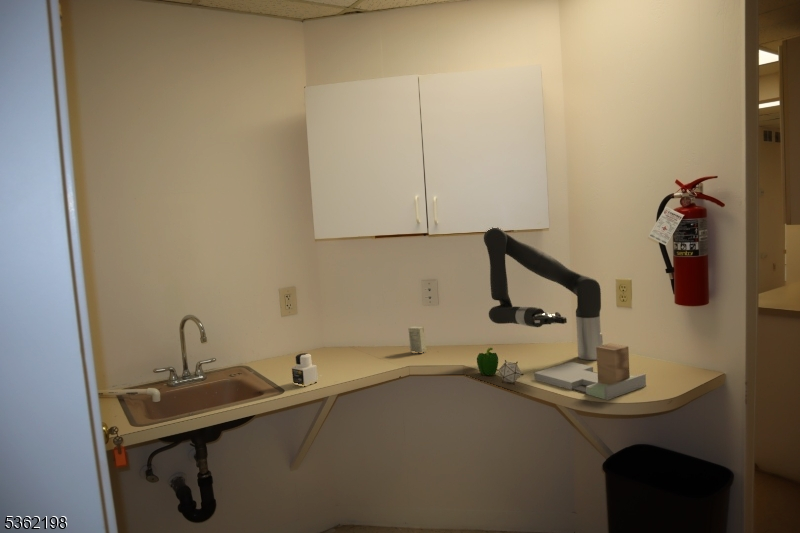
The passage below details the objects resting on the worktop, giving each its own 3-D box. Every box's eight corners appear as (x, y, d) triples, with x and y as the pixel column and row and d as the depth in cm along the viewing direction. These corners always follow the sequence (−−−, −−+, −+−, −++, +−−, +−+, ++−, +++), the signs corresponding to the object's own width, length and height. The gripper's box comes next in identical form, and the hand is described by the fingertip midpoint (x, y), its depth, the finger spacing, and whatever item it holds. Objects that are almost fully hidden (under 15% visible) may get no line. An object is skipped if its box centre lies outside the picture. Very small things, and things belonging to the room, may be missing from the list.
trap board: (571, 368, 198) (571, 358, 198) (646, 385, 172) (645, 374, 171) (534, 379, 188) (533, 368, 188) (607, 399, 161) (606, 387, 161)
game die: (510, 394, 184) (499, 377, 179) (499, 380, 192) (488, 363, 187) (530, 380, 184) (520, 363, 180) (519, 367, 192) (509, 349, 187)
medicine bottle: (293, 385, 204) (290, 355, 203) (307, 380, 210) (304, 351, 209) (304, 387, 200) (301, 357, 199) (318, 382, 205) (315, 353, 204)
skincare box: (426, 352, 242) (424, 326, 241) (421, 354, 238) (420, 328, 237) (414, 351, 245) (412, 325, 244) (410, 353, 242) (408, 327, 241)
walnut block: (611, 377, 175) (609, 343, 174) (629, 382, 169) (628, 346, 168) (598, 382, 172) (596, 346, 171) (616, 386, 166) (614, 350, 165)
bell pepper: (483, 378, 194) (481, 352, 193) (474, 373, 202) (472, 348, 201) (503, 375, 196) (502, 349, 195) (494, 369, 204) (492, 345, 203)
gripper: (516, 310, 197) (551, 313, 182) (541, 304, 204) (576, 307, 189) (518, 329, 198) (553, 334, 183) (542, 322, 204) (578, 327, 190)
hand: (565, 320), depth 186 cm, fingers closed
